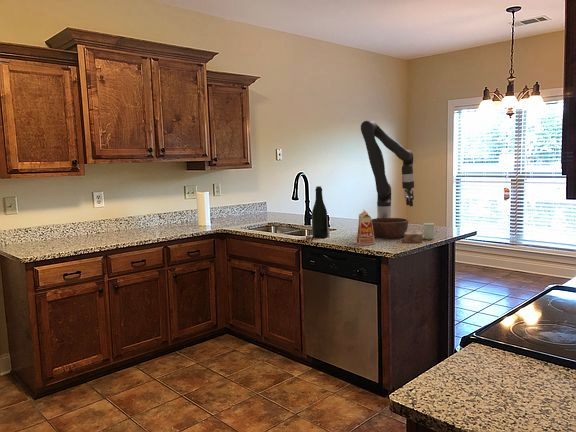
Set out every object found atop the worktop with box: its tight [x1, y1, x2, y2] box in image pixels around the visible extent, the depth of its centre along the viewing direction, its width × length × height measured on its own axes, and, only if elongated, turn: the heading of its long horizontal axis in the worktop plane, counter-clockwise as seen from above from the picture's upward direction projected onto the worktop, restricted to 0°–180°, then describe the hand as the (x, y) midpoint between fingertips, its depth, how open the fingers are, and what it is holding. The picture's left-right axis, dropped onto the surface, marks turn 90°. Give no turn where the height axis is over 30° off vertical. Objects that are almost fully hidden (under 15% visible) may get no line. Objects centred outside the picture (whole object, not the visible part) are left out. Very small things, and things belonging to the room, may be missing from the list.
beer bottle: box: [311, 185, 329, 239], centre depth 311 cm, size 10×10×33 cm
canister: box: [423, 222, 435, 240], centre depth 292 cm, size 6×6×9 cm
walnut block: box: [403, 231, 423, 243], centre depth 285 cm, size 10×10×5 cm
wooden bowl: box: [371, 217, 409, 239], centre depth 306 cm, size 25×25×10 cm
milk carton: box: [355, 208, 375, 246], centre depth 282 cm, size 9×9×20 cm
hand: (409, 205), depth 314 cm, fingers open, 8 cm apart
